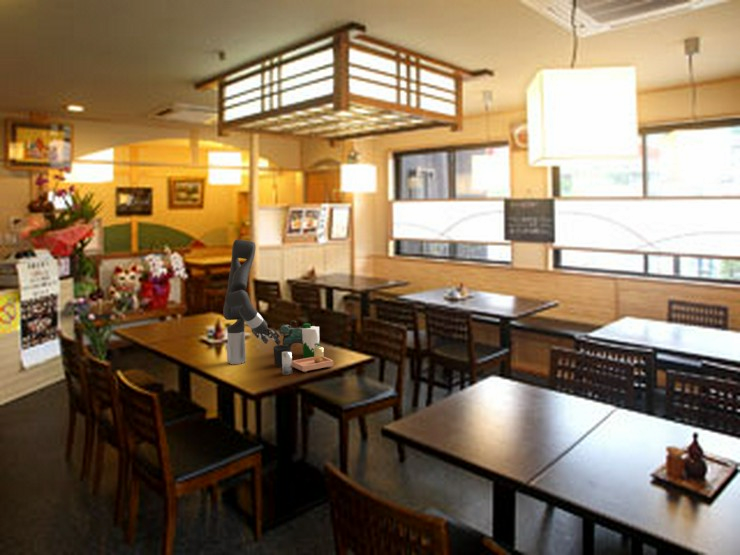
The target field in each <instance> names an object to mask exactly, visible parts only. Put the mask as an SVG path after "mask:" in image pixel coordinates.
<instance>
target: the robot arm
mask: <svg viewBox="0 0 740 555" xmlns="http://www.w3.org/2000/svg"><path fill="white" fill-rule="evenodd" d="M231 250H232V251H231V262H230V270H229V275H228V283H227V291H226V294H225V300H224V305H223V308H222V309H223V312H222V314H223V318H224V319H225V320H227V321H235V320H236V321H235V322H234V323H232V324H231V325H228V327H227V328H226V330H227V345H226V360H227V363H228V364H229V363H230V365H231V364H232V365H241V363H242V364H245V363H246V362H247V360H246V359H247V358H246V357H247V356H246V355H247V354H246V337H245V336H246V334H245V332H246V331H245V323H246V324H247V326H248V327H249V328H250V329H251V332H252V334H253V335H254V336H255V338H256V339H259V340H261V341H262V342H263V343H264V344H268V342H269V340H273V341H274V343H275V344H276V346H277V345H281V340H280V339H279V338H280V336H281V335H280V334H279V333H278V332H277V331H276V330H275V329H274V328H271V329H270V328H268V322H267V321H266V320H265V319H264V318H263V316H262V315H261V314H260V313H259V312H258V310H256V308H255V307H254V306H253V304H252V302H251V299H250V296H249V294H248V292H247V291H246V289H247V286H248V281H249V275H250V272H251V268H252V265H253V261H254V257H255V253H256V243H255V242H254V241H250V240H244V239H240V238H239V239H235V240H234V242H233V244H232V248H231ZM240 259H243V260H245V261H244V262H243V264H241V262H240ZM244 362H245V363H244Z"/></svg>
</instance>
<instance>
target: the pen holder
mask: <svg viewBox="0 0 740 555" xmlns="http://www.w3.org/2000/svg"><path fill="white" fill-rule="evenodd" d="M284 351H291V352H292V346H283V344H282V345H281V344H279V345H277V344H276V345H274V346H273V358H274V359H273V360H274V366H275V367H277V366H278V368H282V352H284Z"/></svg>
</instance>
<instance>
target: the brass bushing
mask: <svg viewBox="0 0 740 555" xmlns="http://www.w3.org/2000/svg"><path fill="white" fill-rule="evenodd" d="M324 352H325V351H324V346H321V345H320V346H317V347H314V363H321V362H324V357H325V355H324Z"/></svg>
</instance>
